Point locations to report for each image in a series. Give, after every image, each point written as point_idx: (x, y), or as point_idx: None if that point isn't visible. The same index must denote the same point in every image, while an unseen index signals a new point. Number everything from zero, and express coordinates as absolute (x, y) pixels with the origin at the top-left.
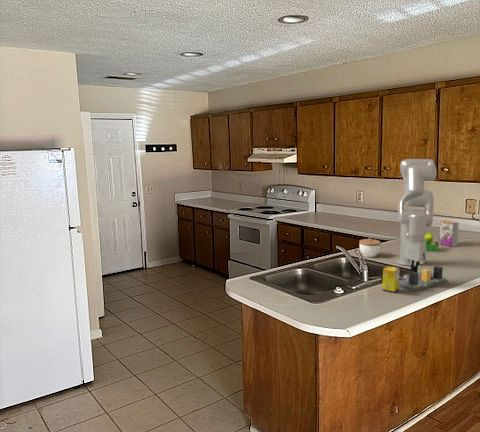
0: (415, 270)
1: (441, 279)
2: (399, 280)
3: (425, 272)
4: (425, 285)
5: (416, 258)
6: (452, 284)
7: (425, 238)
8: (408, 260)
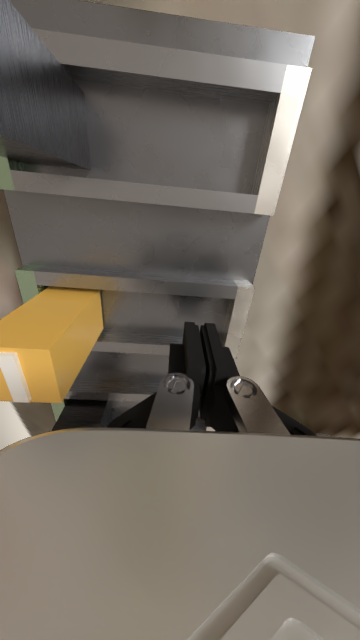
0: (170, 349)
1: (54, 405)
2: (197, 62)
3: (6, 333)
4: (17, 244)
5: (50, 508)
6: (40, 415)
7: None
8: (308, 429)
